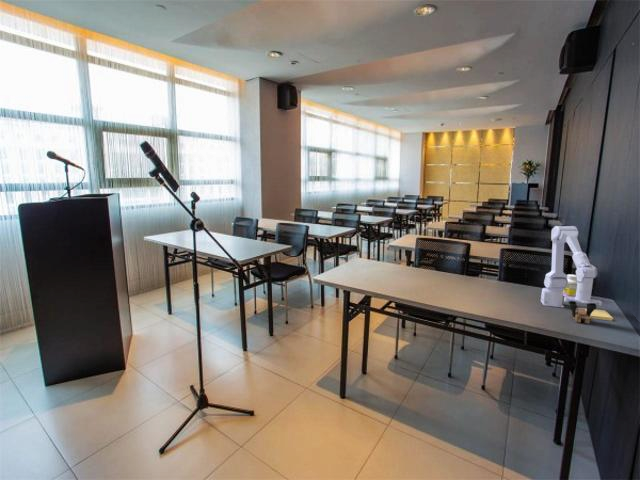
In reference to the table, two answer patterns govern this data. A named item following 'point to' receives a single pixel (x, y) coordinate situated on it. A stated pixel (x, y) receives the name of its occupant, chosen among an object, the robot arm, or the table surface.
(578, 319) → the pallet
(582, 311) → the salmon pink square block
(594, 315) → the plate
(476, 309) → the table surface
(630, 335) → the table surface
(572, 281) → the supplement bottle
